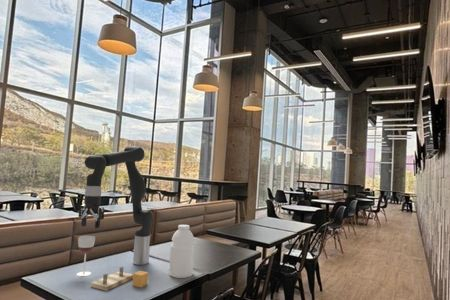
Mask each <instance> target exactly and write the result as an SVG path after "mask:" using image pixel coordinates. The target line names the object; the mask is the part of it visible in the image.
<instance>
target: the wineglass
mask: <svg viewBox="0 0 450 300" xmlns="http://www.w3.org/2000/svg"><path fill="white" fill-rule="evenodd" d="M77 239H78V240H77V245H78V249H79V251H80V252H82V253H84V258H83V271H80V272H77V273H76V276H77V277H87V276H91V275H92V272H90V271H86V261H87V254H88V253H90V252H91V251H92V250H93V248H94V245H95V243H96V242H95V241H96V236H95V235H81V236H78V237H77Z"/></svg>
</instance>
